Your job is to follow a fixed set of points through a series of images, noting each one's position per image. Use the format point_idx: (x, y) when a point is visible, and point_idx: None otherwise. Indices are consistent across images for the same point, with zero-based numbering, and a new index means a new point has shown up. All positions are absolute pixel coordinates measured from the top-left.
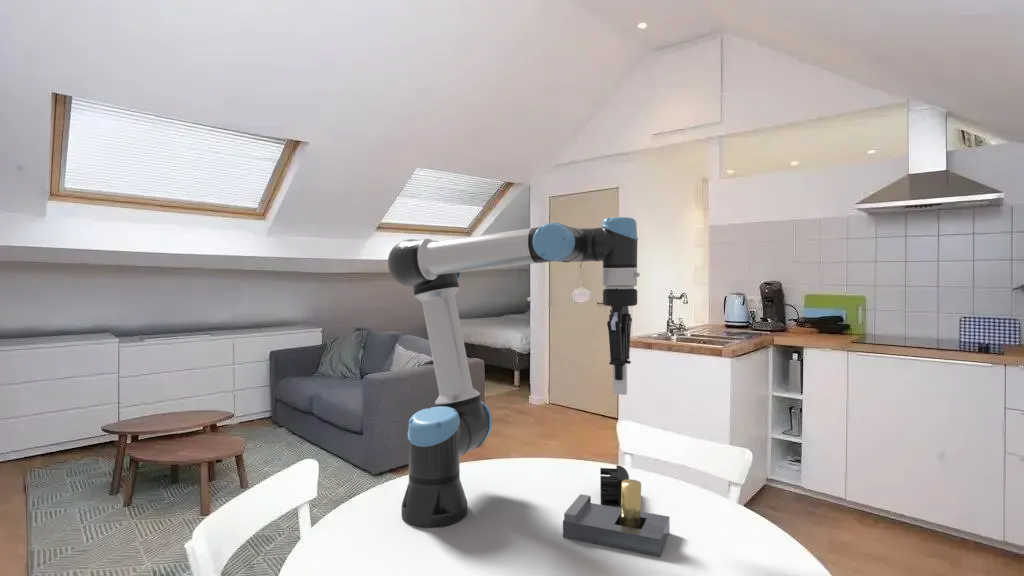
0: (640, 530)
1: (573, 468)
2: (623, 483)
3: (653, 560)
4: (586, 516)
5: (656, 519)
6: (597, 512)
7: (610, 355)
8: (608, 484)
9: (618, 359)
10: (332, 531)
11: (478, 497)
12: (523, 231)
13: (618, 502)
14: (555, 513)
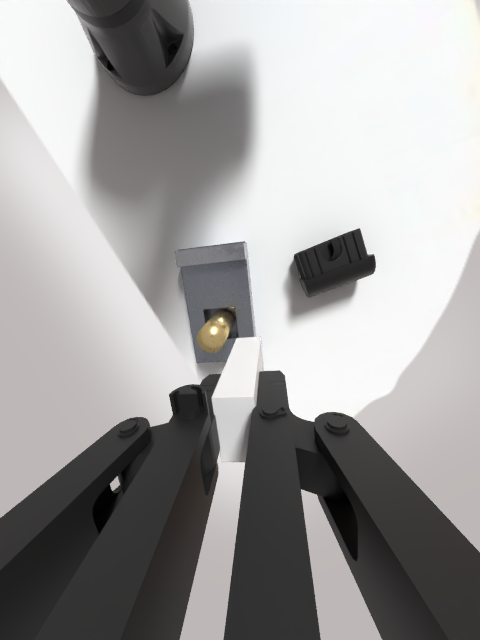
0: None
1: (439, 136)
2: (201, 330)
3: (192, 351)
4: (204, 271)
5: None
6: (222, 279)
7: (72, 462)
8: (300, 265)
9: (120, 483)
10: None
11: (228, 55)
12: None
13: (299, 279)
14: (238, 209)
